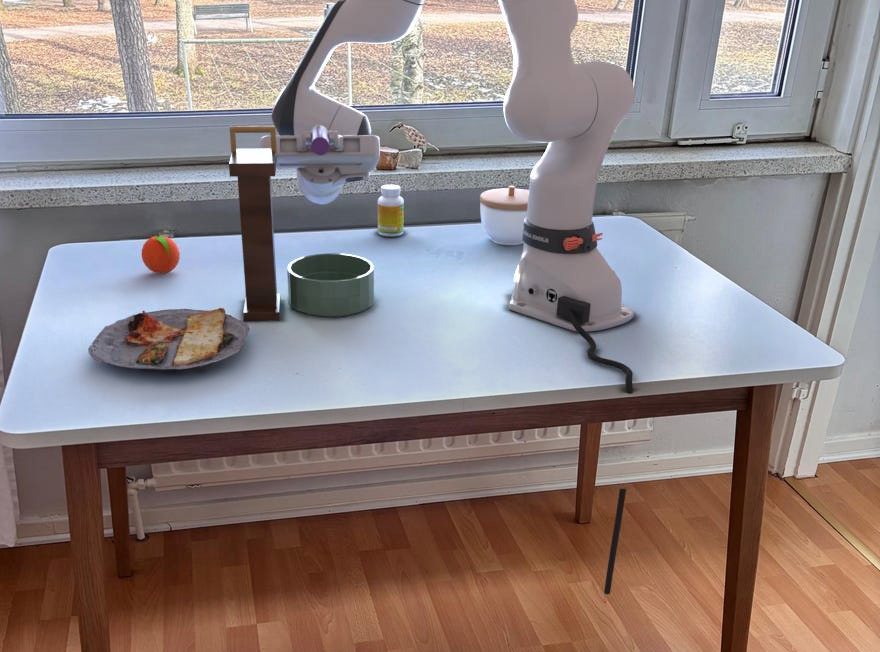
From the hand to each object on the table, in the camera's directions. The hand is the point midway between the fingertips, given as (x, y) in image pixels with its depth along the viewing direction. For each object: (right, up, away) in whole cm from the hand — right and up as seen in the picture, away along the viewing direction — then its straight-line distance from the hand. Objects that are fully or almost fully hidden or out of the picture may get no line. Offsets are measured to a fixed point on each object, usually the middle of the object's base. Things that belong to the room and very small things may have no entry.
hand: (320, 136), depth 163 cm
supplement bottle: (+11, -4, +48) cm, 49 cm away
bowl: (+1, -25, +12) cm, 28 cm away
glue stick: (0, -2, 0) cm, 2 cm away
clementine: (-31, -18, +24) cm, 43 cm away
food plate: (-23, -36, -6) cm, 43 cm away
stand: (-11, -27, +8) cm, 30 cm away
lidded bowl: (+36, -6, +44) cm, 57 cm away
